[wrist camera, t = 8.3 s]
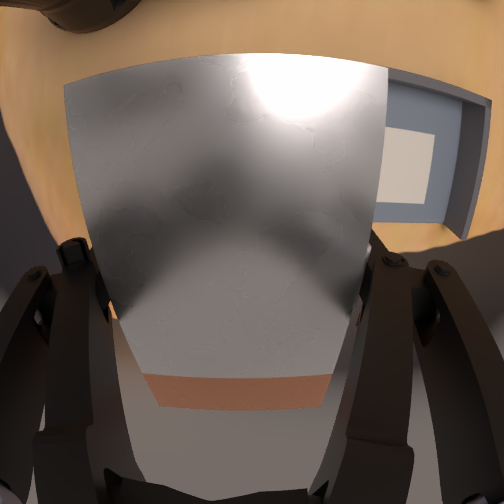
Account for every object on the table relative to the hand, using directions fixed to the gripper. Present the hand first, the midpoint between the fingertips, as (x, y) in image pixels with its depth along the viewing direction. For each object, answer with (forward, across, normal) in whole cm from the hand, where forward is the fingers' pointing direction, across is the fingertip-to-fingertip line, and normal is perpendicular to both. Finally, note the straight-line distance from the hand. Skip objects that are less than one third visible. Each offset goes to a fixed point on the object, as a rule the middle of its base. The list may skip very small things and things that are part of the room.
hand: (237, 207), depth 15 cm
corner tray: (+19, +19, 0) cm, 27 cm away
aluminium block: (0, 0, 0) cm, 0 cm away
